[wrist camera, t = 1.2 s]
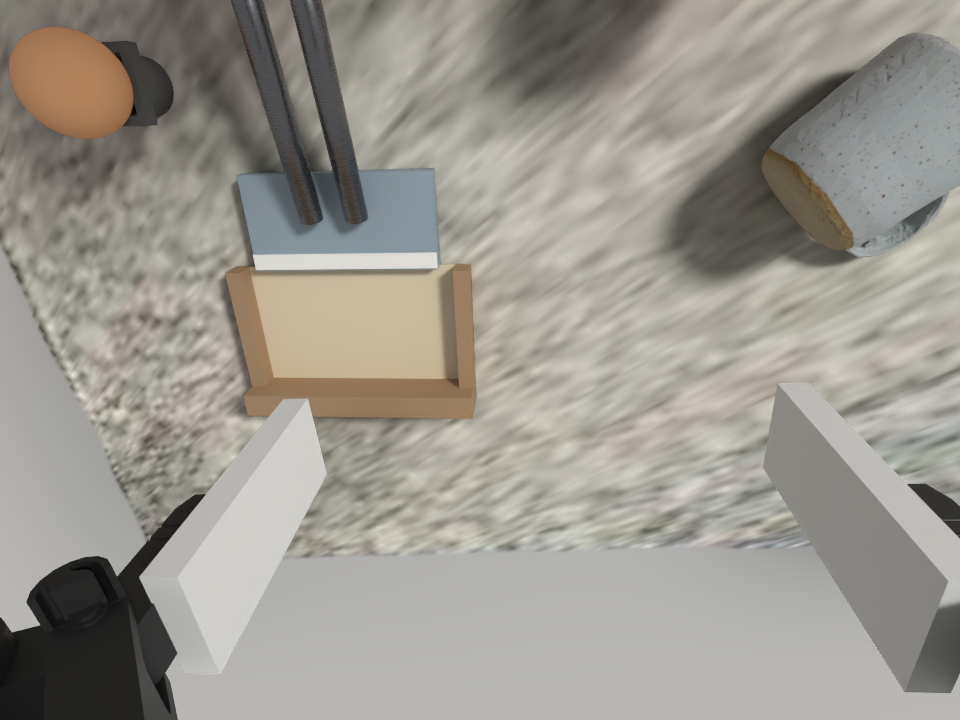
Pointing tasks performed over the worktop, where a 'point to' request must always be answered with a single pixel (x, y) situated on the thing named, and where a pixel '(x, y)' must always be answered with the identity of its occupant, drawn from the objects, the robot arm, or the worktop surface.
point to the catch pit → (358, 340)
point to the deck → (344, 223)
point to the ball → (71, 82)
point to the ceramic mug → (875, 150)
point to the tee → (143, 84)
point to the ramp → (282, 114)
